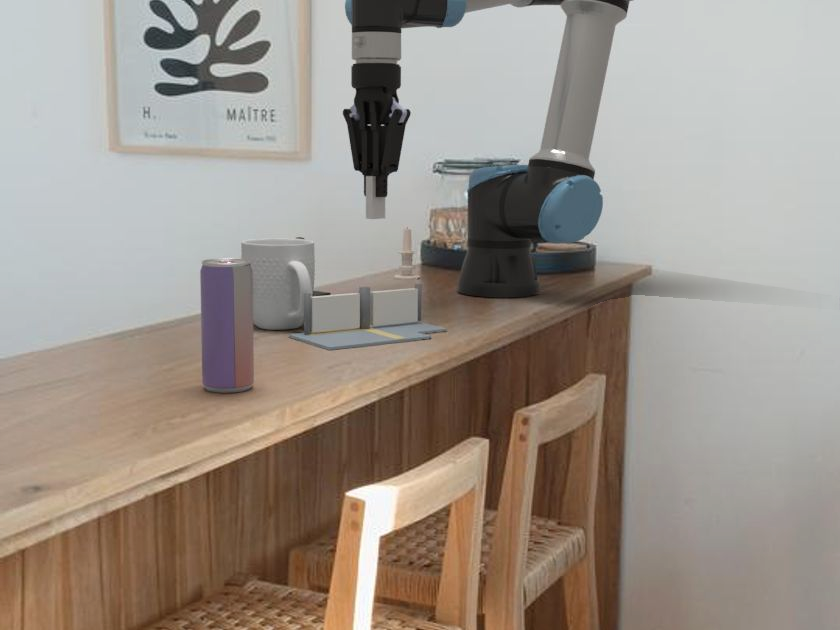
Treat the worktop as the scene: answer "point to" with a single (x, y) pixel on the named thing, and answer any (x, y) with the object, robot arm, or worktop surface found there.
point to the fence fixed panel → (337, 311)
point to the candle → (406, 258)
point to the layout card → (368, 335)
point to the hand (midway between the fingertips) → (375, 218)
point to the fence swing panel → (395, 306)
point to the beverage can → (227, 325)
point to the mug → (280, 280)
